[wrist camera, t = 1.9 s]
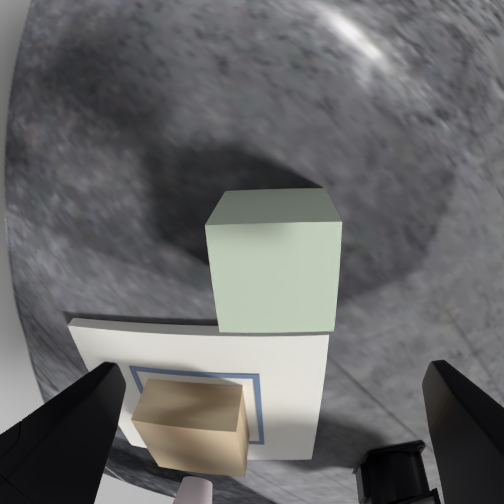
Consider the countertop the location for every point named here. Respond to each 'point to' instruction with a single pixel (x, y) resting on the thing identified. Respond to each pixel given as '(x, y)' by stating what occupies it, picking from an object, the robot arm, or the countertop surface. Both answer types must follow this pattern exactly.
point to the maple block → (194, 426)
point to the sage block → (275, 260)
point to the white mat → (220, 374)
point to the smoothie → (194, 491)
